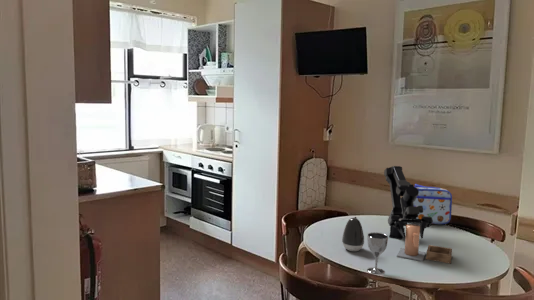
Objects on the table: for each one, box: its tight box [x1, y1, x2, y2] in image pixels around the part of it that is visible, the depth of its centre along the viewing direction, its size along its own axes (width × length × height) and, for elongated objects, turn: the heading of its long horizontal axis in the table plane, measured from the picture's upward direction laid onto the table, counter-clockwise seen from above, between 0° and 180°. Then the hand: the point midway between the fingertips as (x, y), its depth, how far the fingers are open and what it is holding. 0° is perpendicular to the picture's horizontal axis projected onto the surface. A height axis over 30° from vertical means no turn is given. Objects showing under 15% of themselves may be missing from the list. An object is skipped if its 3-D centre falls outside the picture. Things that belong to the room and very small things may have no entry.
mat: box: [396, 247, 427, 262], centre depth 190 cm, size 11×11×1 cm
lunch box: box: [413, 183, 453, 225], centre depth 242 cm, size 28×10×22 cm, turn 78°
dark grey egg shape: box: [341, 216, 365, 252], centre depth 195 cm, size 10×10×15 cm
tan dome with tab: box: [404, 223, 421, 256], centre depth 188 cm, size 9×6×13 cm
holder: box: [425, 244, 453, 264], centre depth 188 cm, size 10×10×4 cm
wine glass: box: [366, 232, 389, 275], centre depth 171 cm, size 8×8×15 cm
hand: (413, 237), depth 188 cm, fingers open, 7 cm apart
